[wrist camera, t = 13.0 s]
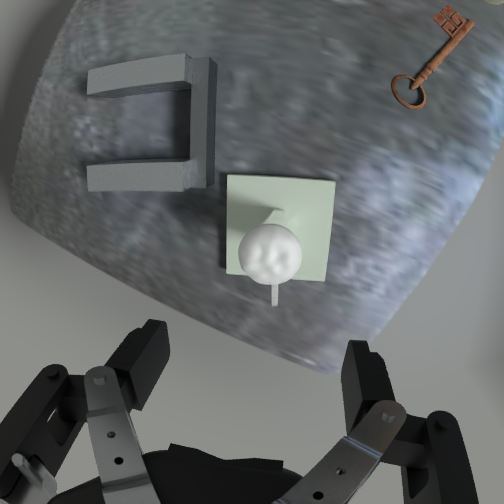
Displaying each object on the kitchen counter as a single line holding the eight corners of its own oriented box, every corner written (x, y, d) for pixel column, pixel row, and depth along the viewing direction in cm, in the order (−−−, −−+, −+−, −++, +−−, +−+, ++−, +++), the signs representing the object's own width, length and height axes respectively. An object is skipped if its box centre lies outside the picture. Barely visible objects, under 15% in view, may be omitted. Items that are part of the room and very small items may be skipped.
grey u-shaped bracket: (114, 76, 27) (88, 70, 23) (217, 64, 26) (202, 51, 21) (114, 182, 32) (88, 191, 27) (214, 183, 30) (199, 192, 26)
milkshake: (258, 258, 31) (242, 309, 22) (249, 205, 30) (227, 237, 20) (304, 252, 30) (307, 303, 21) (297, 198, 29) (298, 228, 19)
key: (443, -1, 20) (369, 75, 25) (446, -4, 19) (370, 73, 24) (482, 36, 20) (413, 116, 25) (485, 34, 19) (416, 115, 24)
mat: (229, 173, 30) (227, 175, 29) (334, 180, 29) (335, 181, 28) (228, 269, 33) (226, 273, 32) (323, 277, 32) (324, 281, 31)
